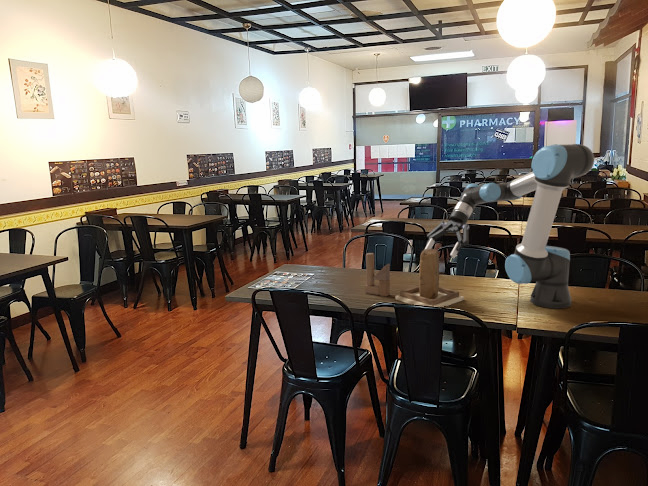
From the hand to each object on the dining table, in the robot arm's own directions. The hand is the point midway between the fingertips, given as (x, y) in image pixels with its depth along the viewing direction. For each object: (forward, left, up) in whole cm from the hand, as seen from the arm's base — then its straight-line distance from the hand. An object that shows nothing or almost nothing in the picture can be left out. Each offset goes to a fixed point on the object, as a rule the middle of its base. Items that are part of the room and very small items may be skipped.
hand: (438, 254), depth 208 cm
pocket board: (-1, +7, -18) cm, 20 cm away
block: (-1, +7, -17) cm, 18 cm away
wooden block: (+20, +17, -19) cm, 32 cm away
